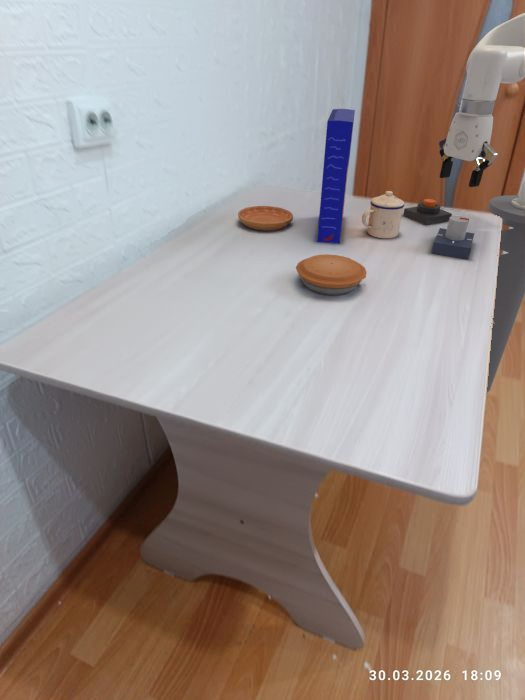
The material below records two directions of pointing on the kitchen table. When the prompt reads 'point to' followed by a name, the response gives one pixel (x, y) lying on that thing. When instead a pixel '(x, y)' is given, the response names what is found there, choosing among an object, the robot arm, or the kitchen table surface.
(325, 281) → the pie
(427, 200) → the button
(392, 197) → the teacup with lid
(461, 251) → the dial panel
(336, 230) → the cereal box
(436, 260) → the kitchen table surface
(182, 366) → the kitchen table surface
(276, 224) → the saucer
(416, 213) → the switch block
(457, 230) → the dial
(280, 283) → the kitchen table surface
